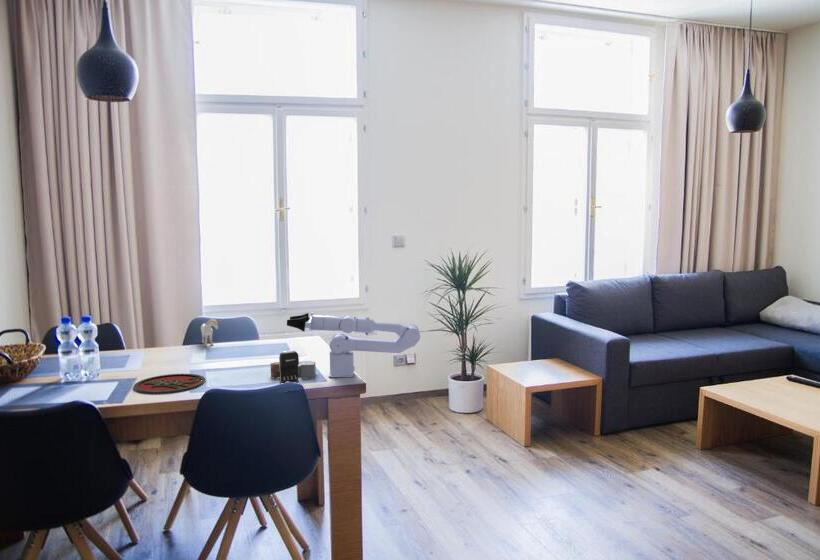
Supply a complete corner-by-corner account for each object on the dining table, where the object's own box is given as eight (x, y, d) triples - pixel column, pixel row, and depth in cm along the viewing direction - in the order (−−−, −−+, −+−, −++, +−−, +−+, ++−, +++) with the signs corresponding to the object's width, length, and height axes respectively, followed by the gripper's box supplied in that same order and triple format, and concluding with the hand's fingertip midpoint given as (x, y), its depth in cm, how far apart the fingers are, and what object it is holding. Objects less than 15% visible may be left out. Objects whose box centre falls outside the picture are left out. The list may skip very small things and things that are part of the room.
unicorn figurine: (212, 349, 289) (211, 321, 288) (192, 343, 303) (191, 316, 301) (226, 346, 294) (225, 319, 293) (206, 341, 308) (205, 314, 306)
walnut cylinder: (284, 374, 243) (284, 361, 242) (282, 377, 238) (282, 365, 237) (272, 374, 243) (271, 362, 242) (269, 378, 238) (269, 365, 237)
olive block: (302, 373, 245) (301, 363, 244) (300, 376, 241) (300, 366, 240) (286, 373, 244) (286, 363, 244) (285, 376, 240) (285, 366, 240)
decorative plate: (186, 392, 216) (119, 391, 219) (186, 396, 216) (119, 394, 219) (216, 374, 241) (155, 372, 243) (216, 377, 241) (155, 375, 244)
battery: (281, 383, 229) (281, 353, 228) (279, 381, 233) (278, 351, 232) (300, 381, 232) (299, 351, 231) (297, 379, 236) (296, 349, 235)
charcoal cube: (315, 374, 243) (315, 361, 243) (314, 377, 238) (313, 364, 238) (302, 374, 243) (302, 361, 243) (301, 377, 238) (300, 364, 238)
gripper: (326, 310, 246) (291, 308, 245) (322, 315, 231) (286, 313, 231) (325, 327, 246) (291, 325, 246) (321, 334, 232) (285, 332, 231)
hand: (288, 321), depth 238 cm, fingers open, 7 cm apart
